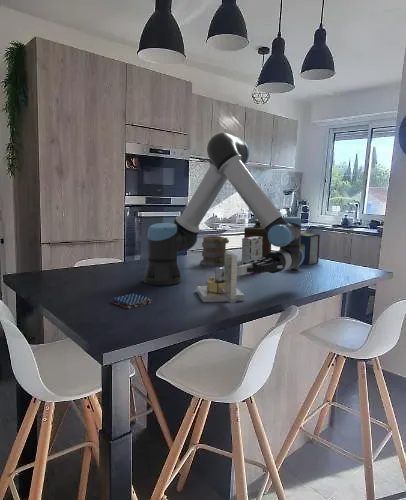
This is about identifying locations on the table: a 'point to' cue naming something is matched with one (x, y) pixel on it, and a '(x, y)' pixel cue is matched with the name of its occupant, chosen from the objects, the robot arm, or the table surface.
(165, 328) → the table surface
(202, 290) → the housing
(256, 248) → the candy bar box
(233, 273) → the ring nut
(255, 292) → the table surface
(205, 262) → the tankard
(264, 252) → the wooden container
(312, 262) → the protein box
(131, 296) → the woven mat
